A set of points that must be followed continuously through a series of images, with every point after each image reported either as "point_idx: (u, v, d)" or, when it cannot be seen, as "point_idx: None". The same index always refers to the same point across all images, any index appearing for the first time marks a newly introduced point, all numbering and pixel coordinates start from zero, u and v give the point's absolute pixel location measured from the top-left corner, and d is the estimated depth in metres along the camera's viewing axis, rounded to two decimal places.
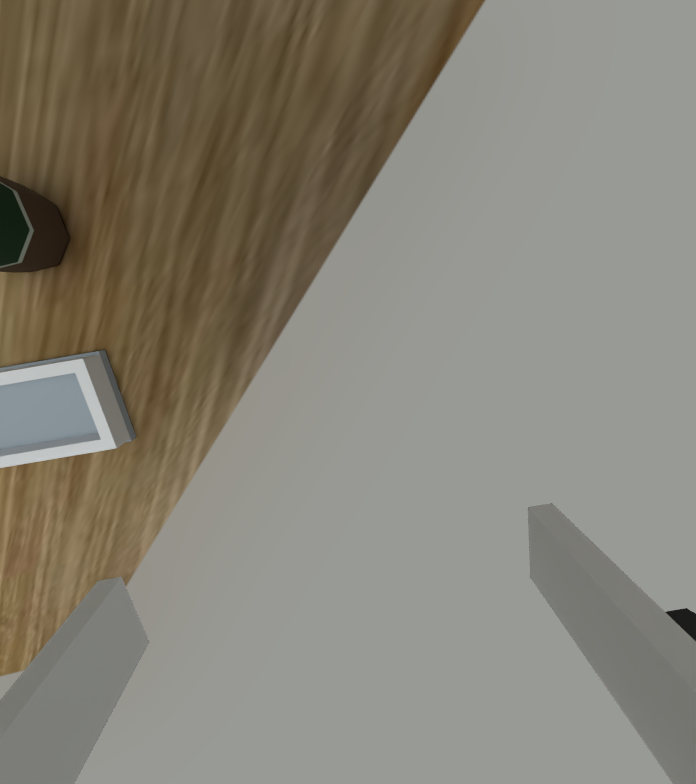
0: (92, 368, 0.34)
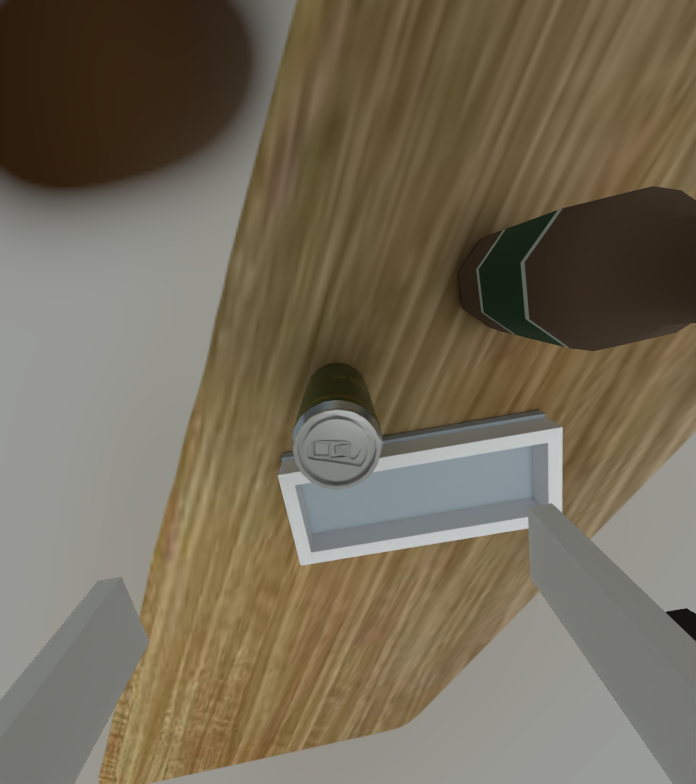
0: None
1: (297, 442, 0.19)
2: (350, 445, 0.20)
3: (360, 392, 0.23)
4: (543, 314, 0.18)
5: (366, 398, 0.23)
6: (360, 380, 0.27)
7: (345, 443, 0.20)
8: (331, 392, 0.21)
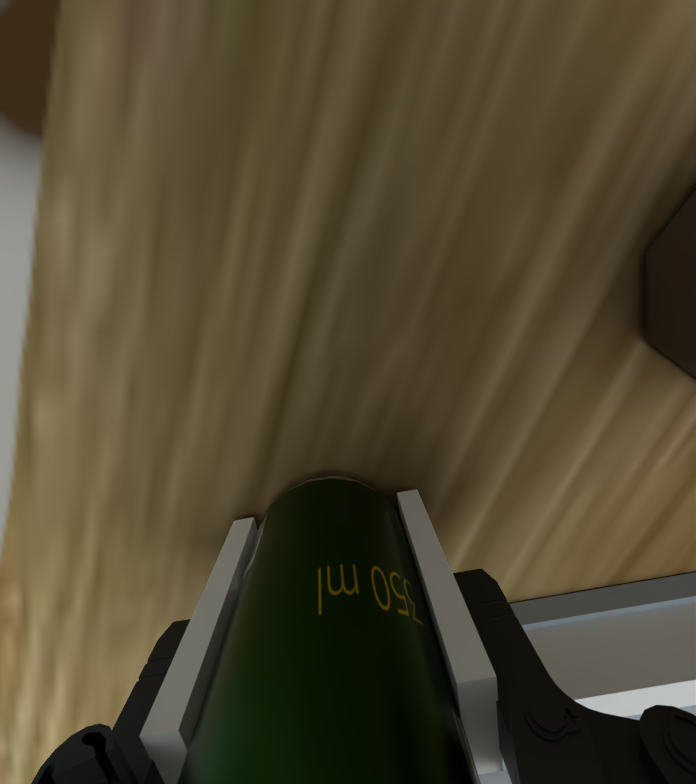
0: None
1: None
2: None
3: (427, 730, 0.06)
4: None
5: (454, 762, 0.05)
6: (397, 553, 0.10)
7: None
8: None
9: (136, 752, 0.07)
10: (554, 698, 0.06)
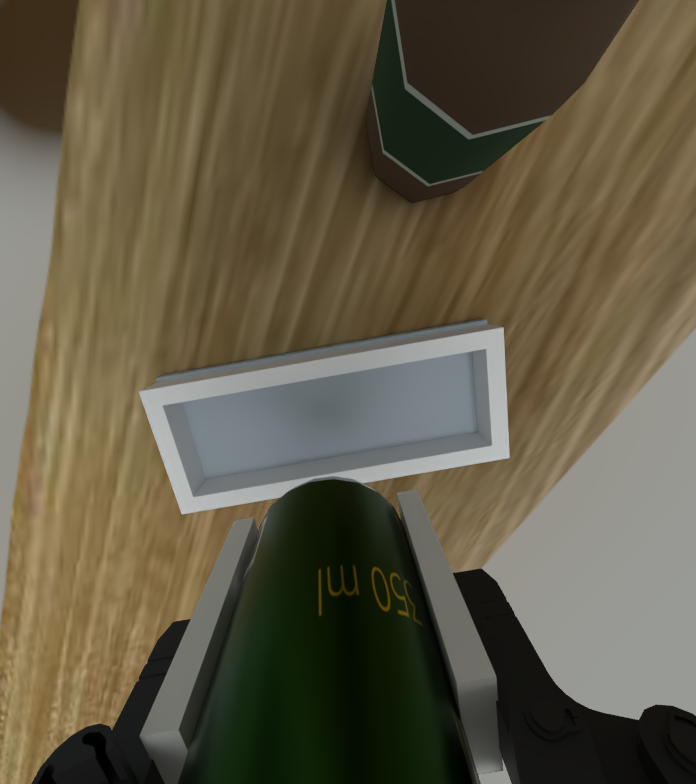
0: None
1: None
2: None
3: (427, 731, 0.06)
4: (415, 47, 0.11)
5: (454, 763, 0.05)
6: (397, 553, 0.10)
7: None
8: None
9: (136, 752, 0.07)
10: (554, 698, 0.06)
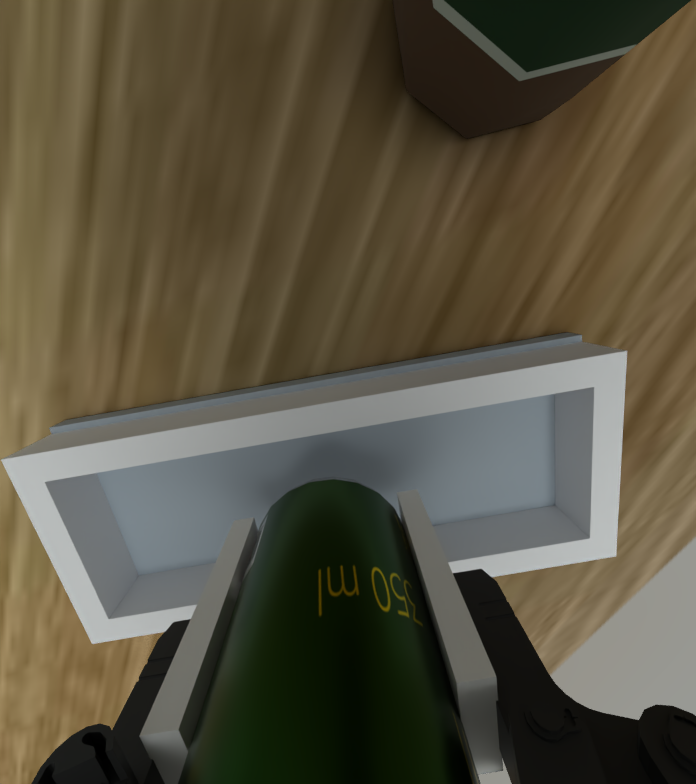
0: None
1: None
2: None
3: (427, 732, 0.06)
4: None
5: (454, 763, 0.05)
6: (397, 554, 0.10)
7: None
8: None
9: (136, 752, 0.07)
10: (554, 698, 0.06)
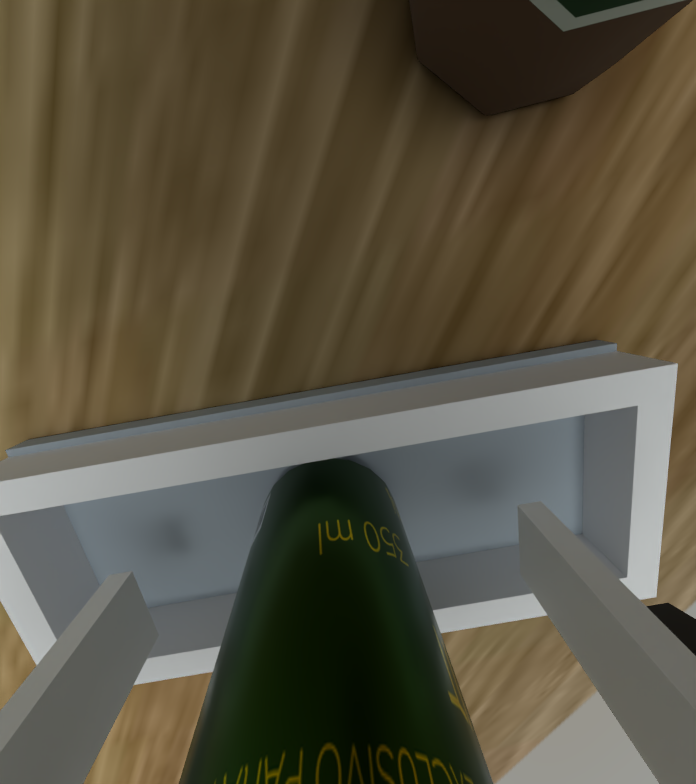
0: None
1: None
2: None
3: (409, 629, 0.07)
4: None
5: (432, 652, 0.07)
6: (387, 514, 0.11)
7: None
8: (307, 712, 0.05)
9: None
10: None
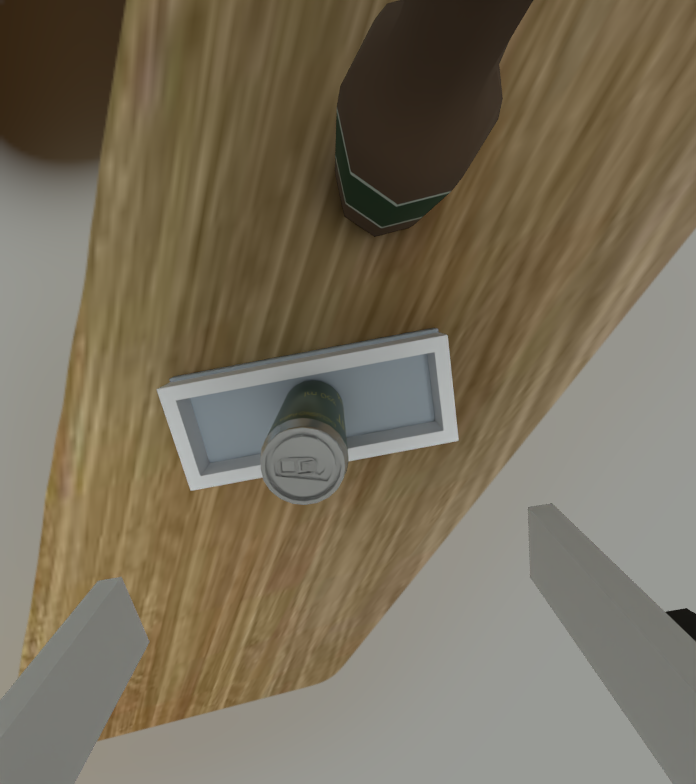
0: None
1: (264, 460, 0.20)
2: (315, 461, 0.20)
3: (328, 408, 0.24)
4: (352, 154, 0.17)
5: (334, 414, 0.24)
6: (333, 395, 0.28)
7: (311, 460, 0.20)
8: (298, 410, 0.22)
9: None
10: None
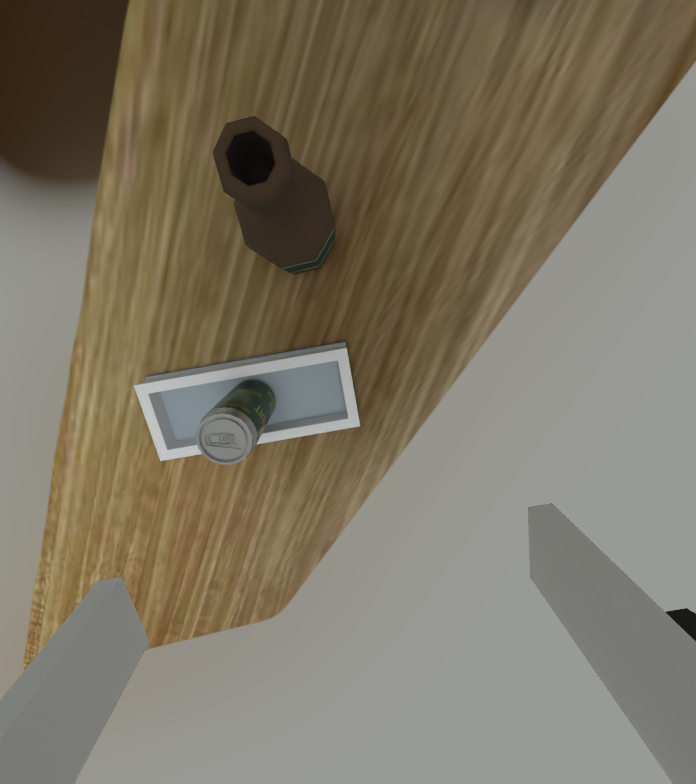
0: None
1: (198, 435, 0.31)
2: (232, 436, 0.31)
3: (250, 401, 0.34)
4: None
5: (254, 405, 0.34)
6: (262, 391, 0.39)
7: (229, 435, 0.31)
8: (225, 402, 0.33)
9: None
10: None
